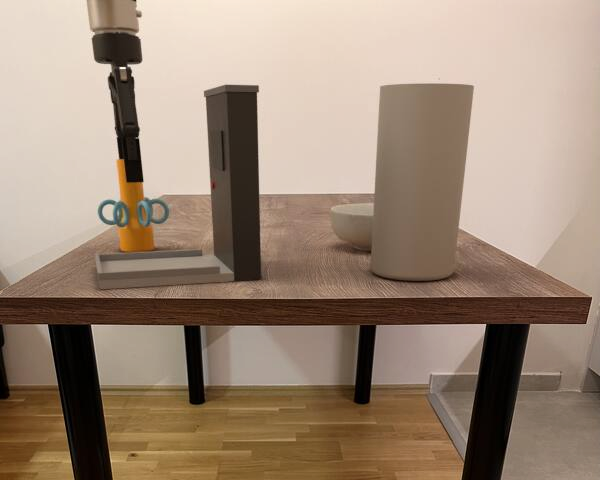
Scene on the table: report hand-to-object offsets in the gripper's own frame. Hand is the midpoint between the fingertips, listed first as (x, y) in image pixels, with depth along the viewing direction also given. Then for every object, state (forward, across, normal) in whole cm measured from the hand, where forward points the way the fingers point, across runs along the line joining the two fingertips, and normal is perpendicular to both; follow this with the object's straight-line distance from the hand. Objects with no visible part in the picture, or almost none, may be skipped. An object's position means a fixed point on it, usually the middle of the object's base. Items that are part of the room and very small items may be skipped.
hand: (131, 179), depth 110 cm
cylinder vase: (+12, -33, -38) cm, 52 cm away
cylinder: (+12, 0, 0) cm, 12 cm away
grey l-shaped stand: (+12, -23, -4) cm, 26 cm away
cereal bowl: (+12, -10, -42) cm, 45 cm away
